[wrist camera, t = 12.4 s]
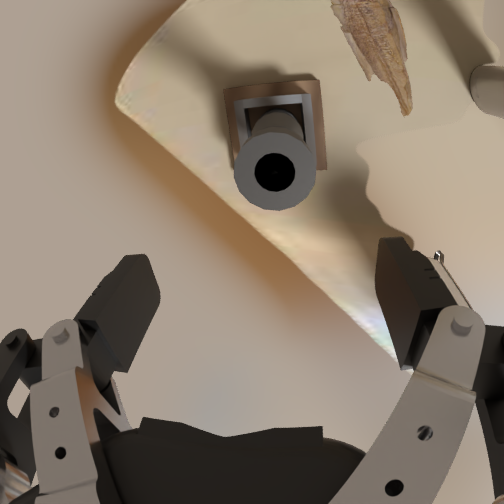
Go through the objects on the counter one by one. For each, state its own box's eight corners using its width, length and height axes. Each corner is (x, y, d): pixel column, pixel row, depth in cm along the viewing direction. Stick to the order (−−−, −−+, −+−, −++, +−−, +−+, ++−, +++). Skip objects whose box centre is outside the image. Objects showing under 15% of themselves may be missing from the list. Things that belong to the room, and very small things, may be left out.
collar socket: (318, 80, 38) (324, 78, 32) (325, 167, 45) (331, 179, 39) (225, 89, 40) (216, 89, 34) (238, 174, 47) (231, 186, 41)
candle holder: (274, 99, 39) (266, 109, 18) (307, 125, 40) (338, 167, 19) (248, 131, 42) (212, 180, 20) (281, 155, 43) (281, 229, 22)
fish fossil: (430, 110, 38) (433, 111, 37) (377, 126, 41) (379, 127, 41) (368, -29, 26) (370, -31, 25) (311, -15, 30) (311, -17, 29)
